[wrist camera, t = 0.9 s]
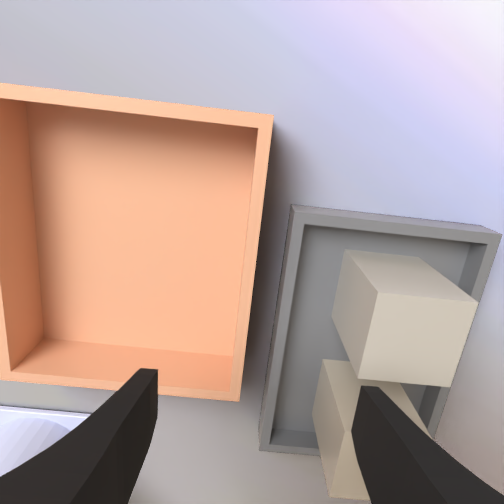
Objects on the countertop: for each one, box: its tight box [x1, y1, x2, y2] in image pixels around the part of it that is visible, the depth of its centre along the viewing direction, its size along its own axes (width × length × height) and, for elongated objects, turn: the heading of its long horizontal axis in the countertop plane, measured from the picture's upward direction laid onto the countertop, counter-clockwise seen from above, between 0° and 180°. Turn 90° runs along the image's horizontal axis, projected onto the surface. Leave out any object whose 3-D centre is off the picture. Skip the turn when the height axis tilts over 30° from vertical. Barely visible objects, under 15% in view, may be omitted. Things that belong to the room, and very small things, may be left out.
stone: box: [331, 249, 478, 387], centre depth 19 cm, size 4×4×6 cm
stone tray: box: [259, 204, 502, 456], centre depth 23 cm, size 16×11×2 cm
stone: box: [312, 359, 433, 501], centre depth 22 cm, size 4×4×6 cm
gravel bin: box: [0, 83, 274, 402], centre depth 20 cm, size 15×13×4 cm
